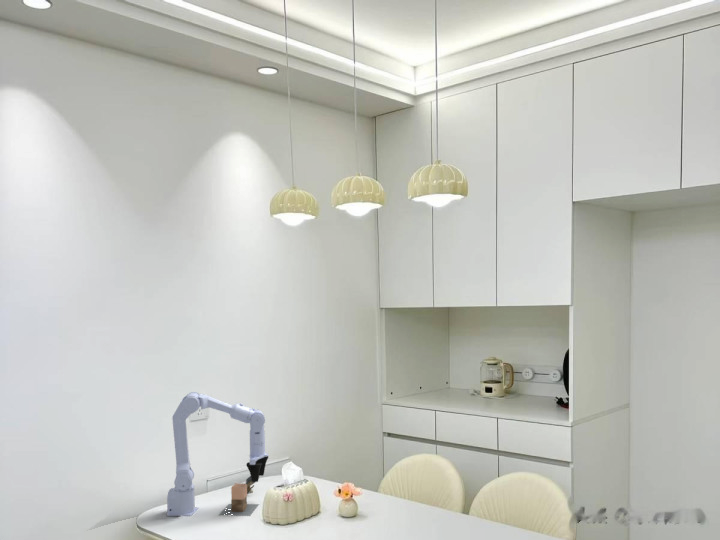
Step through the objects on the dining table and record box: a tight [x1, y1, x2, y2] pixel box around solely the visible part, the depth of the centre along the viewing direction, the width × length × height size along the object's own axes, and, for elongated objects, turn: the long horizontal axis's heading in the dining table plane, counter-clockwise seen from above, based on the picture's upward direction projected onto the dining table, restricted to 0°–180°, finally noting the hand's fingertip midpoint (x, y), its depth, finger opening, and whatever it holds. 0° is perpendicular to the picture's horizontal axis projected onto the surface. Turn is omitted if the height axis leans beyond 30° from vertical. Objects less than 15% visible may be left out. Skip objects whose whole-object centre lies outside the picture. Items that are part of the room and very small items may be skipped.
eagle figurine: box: [242, 475, 256, 495], centre depth 247 cm, size 8×7×9 cm
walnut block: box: [230, 495, 248, 512], centre depth 227 cm, size 4×4×4 cm
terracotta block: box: [230, 482, 248, 500], centre depth 227 cm, size 4×4×4 cm
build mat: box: [218, 503, 260, 517], centre depth 227 cm, size 12×12×1 cm
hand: (258, 478), depth 232 cm, fingers open, 7 cm apart
